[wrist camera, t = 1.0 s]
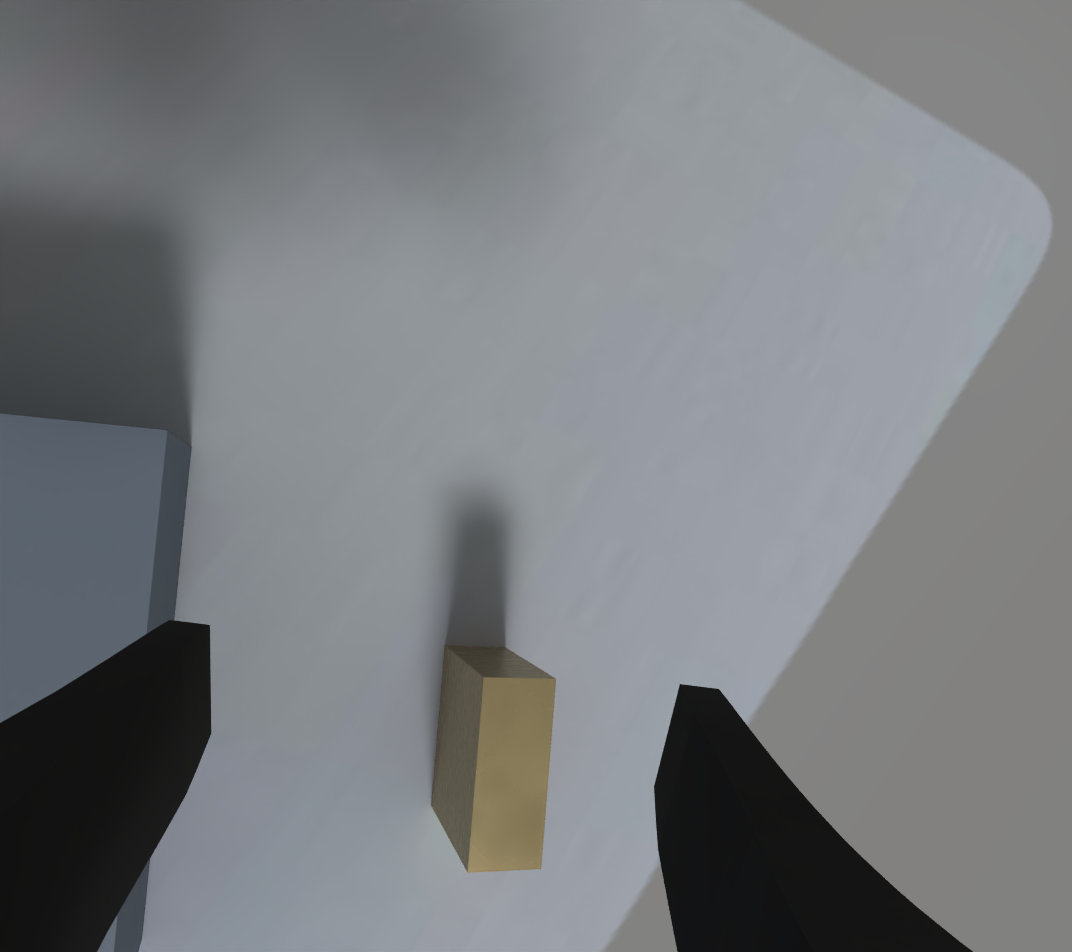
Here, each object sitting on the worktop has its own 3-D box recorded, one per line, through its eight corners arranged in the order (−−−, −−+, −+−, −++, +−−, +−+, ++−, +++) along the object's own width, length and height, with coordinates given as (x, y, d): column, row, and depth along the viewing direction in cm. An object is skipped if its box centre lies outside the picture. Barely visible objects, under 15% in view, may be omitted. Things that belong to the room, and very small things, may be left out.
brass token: (492, 803, 27) (541, 868, 22) (430, 805, 27) (467, 872, 22) (505, 647, 27) (556, 678, 23) (444, 645, 27) (483, 677, 22)
